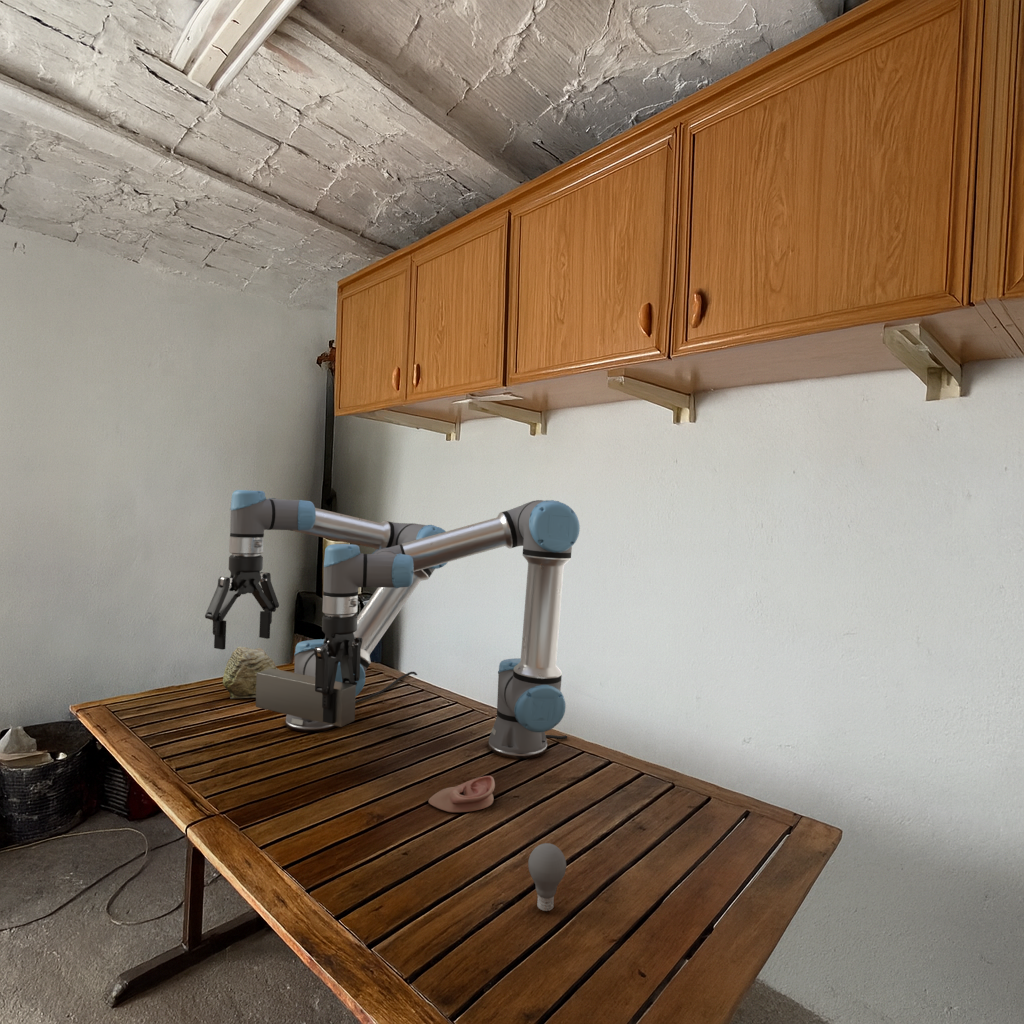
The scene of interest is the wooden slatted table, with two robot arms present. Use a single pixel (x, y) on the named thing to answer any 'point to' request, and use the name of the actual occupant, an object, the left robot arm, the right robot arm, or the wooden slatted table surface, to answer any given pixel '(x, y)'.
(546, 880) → the light bulb
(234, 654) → the fossil
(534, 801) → the wooden slatted table surface
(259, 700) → the bar
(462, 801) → the anatomical model
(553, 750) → the wooden slatted table surface
